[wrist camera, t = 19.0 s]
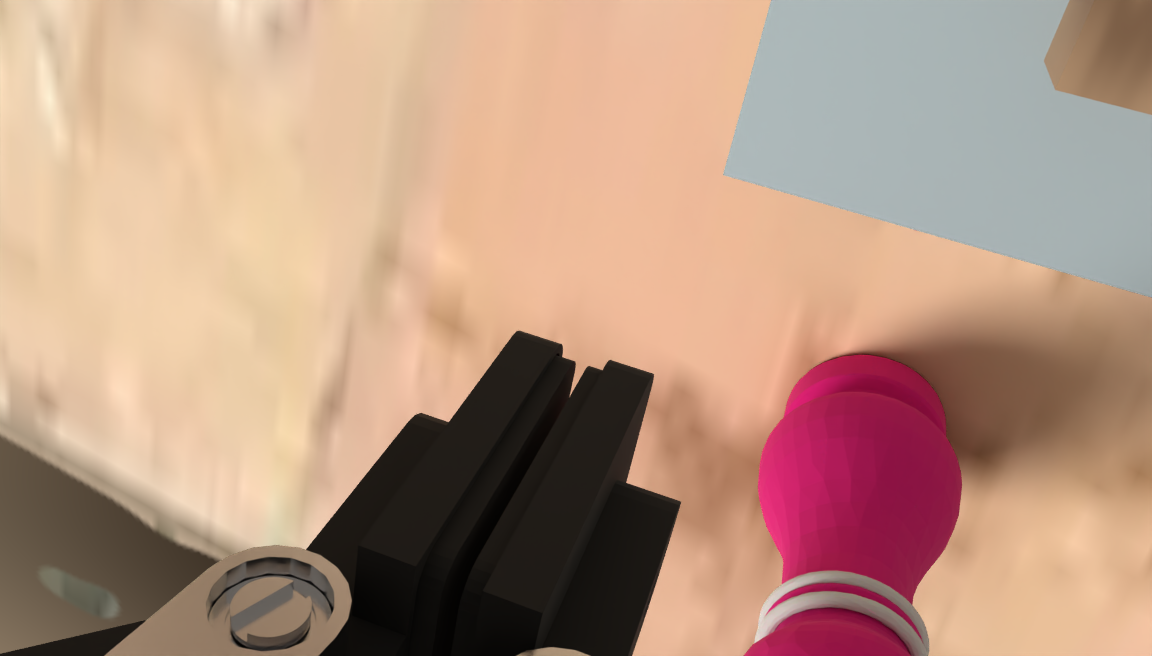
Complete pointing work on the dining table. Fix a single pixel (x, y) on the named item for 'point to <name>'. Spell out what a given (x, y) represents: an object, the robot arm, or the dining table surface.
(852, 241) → the dining table surface
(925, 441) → the pepper mill
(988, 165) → the board
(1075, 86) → the walnut slab
